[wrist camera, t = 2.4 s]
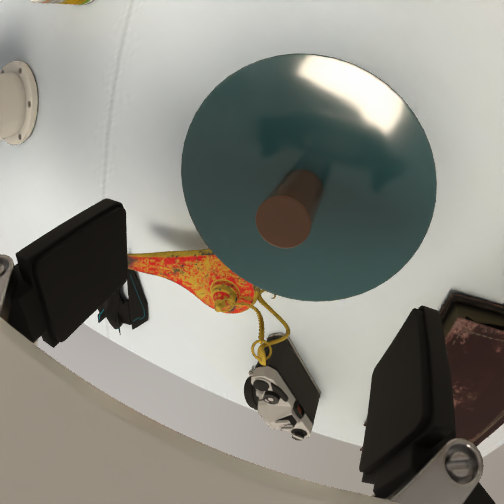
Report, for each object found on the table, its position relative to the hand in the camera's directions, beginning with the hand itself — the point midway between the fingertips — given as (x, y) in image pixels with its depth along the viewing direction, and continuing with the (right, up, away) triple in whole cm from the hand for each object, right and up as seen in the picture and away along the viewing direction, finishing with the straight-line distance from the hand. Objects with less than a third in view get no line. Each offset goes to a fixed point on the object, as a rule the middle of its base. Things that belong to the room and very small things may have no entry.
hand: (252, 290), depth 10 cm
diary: (+26, -15, +23) cm, 37 cm away
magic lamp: (-3, +1, +24) cm, 25 cm away
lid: (+3, +5, +8) cm, 10 cm away
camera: (+4, -14, +30) cm, 33 cm away
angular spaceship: (-19, -4, +33) cm, 38 cm away
